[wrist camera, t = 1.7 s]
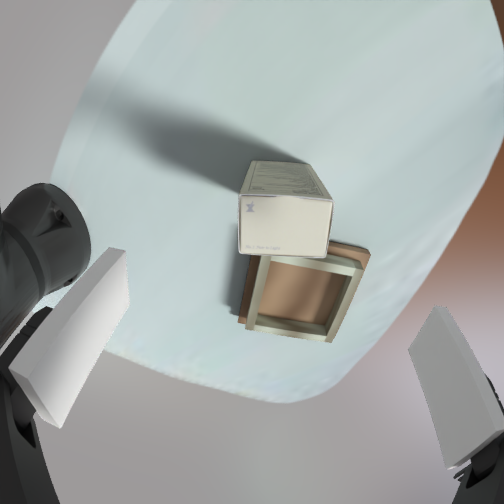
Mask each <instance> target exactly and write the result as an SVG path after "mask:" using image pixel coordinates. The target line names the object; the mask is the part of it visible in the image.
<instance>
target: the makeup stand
mask: <svg viewBox="0 0 504 504" xmlns="http://www.w3.org/2000/svg"><path fill="white" fill-rule="evenodd" d="M370 256H371V254H370V252H369V251H368V250H367V249H362V248H358V247H353V246H349V245H344V244H339V243H335V242H330V241H329V243H328V248H327V254H326V257H325V258H300V257H278V256H263V255H251V259H250V264H249V269H248V274H247V279H246V284H245V288H244V293H243V298H242V303H241V308H240V313H239V318H238V323H242V324H246V326H245V329H247V330H253V331H258V332H264V333H270V334H275V335H281V336H288V337H294V338H301V339H307V340H314V341H321V342H329V343H332V341H333V339H334V338H335V336H336V333H337V331H338V329H339V327H340V325H341V323H342V321H343V319H344V317H345V314H346V312H347V310H348V308H349V306H350V303H351V301H352V299H353V297H354V294H355V292H356V290H357V287H358V285H359V283H360V280H361V278H362V275H363V273H364V271H365V268H366V266H367V263H368V261H369V258H370Z"/></svg>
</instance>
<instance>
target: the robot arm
mask: <svg viewBox="0 0 504 504" xmlns="http://www.w3.org/2000/svg"><path fill="white" fill-rule="evenodd" d="M90 254H91V244H90V237H89V232H88V229H87V226H86V223H85V221H84V219H83V217H82V215H81V213H80V211H79V209H78V208H77V206H76V205H75V204H74V202H73V201H72V200H71V199H70V198H69V197H68V196H67V195H66V194H65V193H64V192H63V191H62V190H60V189H59V188H57V187H55V186H53V185H50V184H45V183H39V184H34V185H32V186H30V187H28V188H27V189H24V190H22V191H21V192H20V193H19V194H17V196H16V197H15V198H14V199H13V201H12V202H11V203H10V204H9V206H8V207H7V208H6V209H5V210H4V212H3V213H2V214H1V208H0V349H1V348H2V346H3V345H4V344H5V342H6V341H7V340H8V338H9V337H10V336H11V334H12V333H13V332H14V331H15V330H16V328H17V327H18V326H19V325H20V323H21V322H22V321H23V320H24V318H25V317H26V316H27V315H28V314H29V312H30V311H31V310H32V309H33V308H34V307H35V305H36V304H37V303H38V302H39V301H40V300H41V299H42V298H43V297H44V296H46V295H48V294H50V293H52V292H54V291H57V290H59V289H61V288H63V287H65V286H68V285H70V284H72V283H73V282H74V281H76V280H77V279H78V277H79V276H80V275H81V274H82V273H83V272H84V271H85V269H86V268H87V266H88V263H89V260H90ZM129 306H130V300H129V290H128V278H127V264H126V251H124V250H120V249H115V248H110V247H109V248H108V249H107V250H106V251H105V252H104V253H103V254H102V255H101V256H100V257H99V258H98V260H97V261H96V262H95V263H94V264H93V265H92V266H91V267H90V268H89V269H88V270H87V271H86V272H85V273H84V275H83V276H82V277H81V278H80V279H79V280H78V281H77V282H76V283H75V284H74V286H73V287H72V288H71V289H70V290H69V291H68V292H67V294H66V295H65V296H64V297H63V298H62V299H61V301H60V302H59V303H58V304H57V305H56V306H55V308H54V309H53V308H50V307H47V306H46V307H44V308H43V309H41V310H39V311H38V312H36V313H35V314H34V315H33V316H32V317H31V318H30V319H29V321H28V322H27V323H26V326H24V327H23V328H22V329H21V330H20V333H19V334H17V335H16V336H15V338H14V339H13V340H12V342H11V343H10V344H9V345H8V347H7V348H6V349H5V351H4V352H3V353H2V355H1V356H0V504H60V502H59V500H58V497H57V495H56V492H55V489H54V487H53V484H52V481H51V478H50V475H49V472H48V469H47V466H46V463H45V459H44V456H43V452H42V449H41V445H40V441H39V437H38V433H37V429H36V424H35V421H34V419H33V415H34V413H35V412H36V411H37V413H38V414H39V415H40V417H41V418H42V419H43V420H45V421H47V422H48V423H50V424H53V425H54V426H57V427H58V428H61V427H62V425H63V423H64V421H65V419H66V417H67V415H68V413H69V411H70V409H71V407H72V405H73V403H74V401H75V399H76V397H77V396H78V394H79V392H80V390H81V388H82V386H83V384H84V383H85V381H86V379H87V377H88V375H89V373H90V372H91V370H92V368H93V366H94V364H95V363H96V361H97V359H98V357H99V356H100V354H101V352H102V350H103V349H104V347H105V345H106V344H107V342H108V340H109V338H110V337H111V335H112V333H113V332H114V330H115V328H116V327H117V325H118V323H119V322H120V320H121V318H122V317H123V315H124V314H125V312H126V310H127V309H128V307H129ZM408 351H409V354H410V356H411V359H412V362H413V364H414V367H415V370H416V372H417V375H418V378H419V380H420V383H421V386H422V389H423V392H424V395H425V398H426V401H427V404H428V407H429V410H430V413H431V417H432V420H433V423H434V426H435V430H436V433H437V437H438V440H439V444H440V447H441V451H442V455H443V459H444V463H445V467H446V470H447V469H451V468H455V467H458V466H461V465H462V464H463V463H465V462H466V461H468V460H469V459H471V464H469V465H468V466H467V467H465V468H464V469H462V470H461V471H459V472H458V473H457V474H455V476H454V479H456V478H457V477H459V476H460V475H462V474H463V473H464V475H463V476H462V477H460V478H459V479H458V481H460V482H461V483H460V486H459V488H458V491H457V493H456V495H455V498H454V500H453V502H452V504H504V409H503V406H502V404H501V402H500V401H499V397H498V395H497V393H495V389H494V387H493V384H492V382H491V381H490V379H489V378H488V377H487V376H486V375H485V374H484V372H483V370H482V368H481V366H480V364H479V363H478V361H477V359H476V357H475V355H474V353H473V351H472V349H471V348H470V346H469V344H468V342H467V340H466V339H465V337H464V335H463V333H462V332H461V330H460V329H459V327H458V325H457V323H456V322H455V320H454V318H453V317H452V315H451V313H450V312H449V310H448V309H447V307H441V306H434V308H433V310H432V311H431V313H430V315H429V317H428V318H427V320H426V322H425V323H424V325H423V327H422V328H421V330H420V332H419V333H418V335H417V336H416V338H415V340H414V341H413V343H412V344H411V346H410V348H409V349H408Z"/></svg>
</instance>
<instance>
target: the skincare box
mask: <svg viewBox="0 0 504 504" xmlns="http://www.w3.org/2000/svg"><path fill="white" fill-rule="evenodd" d="M334 206H335V202H334V200H333V199H332V197H331V196H330V194H329V193H328V191H327V189H326V188H325V186H324V185H323V183H322V182H321V180H320V179H319V177H318V176H317V174H316V172H315V171H314V169H313V168H312V166H311V165H309V164H300V163H289V162H276V161H251V164H250V166H249V169H248V172H247V174H246V177H245V179H244V182H243V185H242V188H241V190H240V193H239V201H238V251H239V253H241V254H251V255H263V256H278V257H300V258H325V257H326V254H327V248H328V243H329V238H330V232H331V226H332V220H333V213H334Z"/></svg>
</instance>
